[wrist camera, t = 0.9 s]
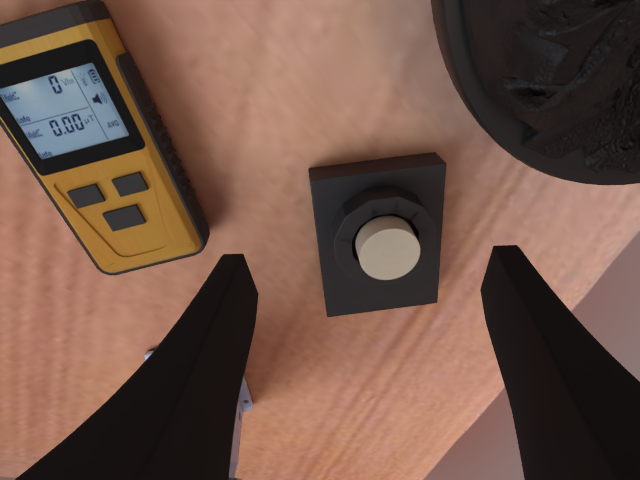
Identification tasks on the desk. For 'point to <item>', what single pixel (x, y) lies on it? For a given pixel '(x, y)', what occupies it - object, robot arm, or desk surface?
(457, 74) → the coal bowl
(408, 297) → the switch box
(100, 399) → the desk surface
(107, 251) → the electronic device
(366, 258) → the power button
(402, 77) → the desk surface
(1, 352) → the desk surface
